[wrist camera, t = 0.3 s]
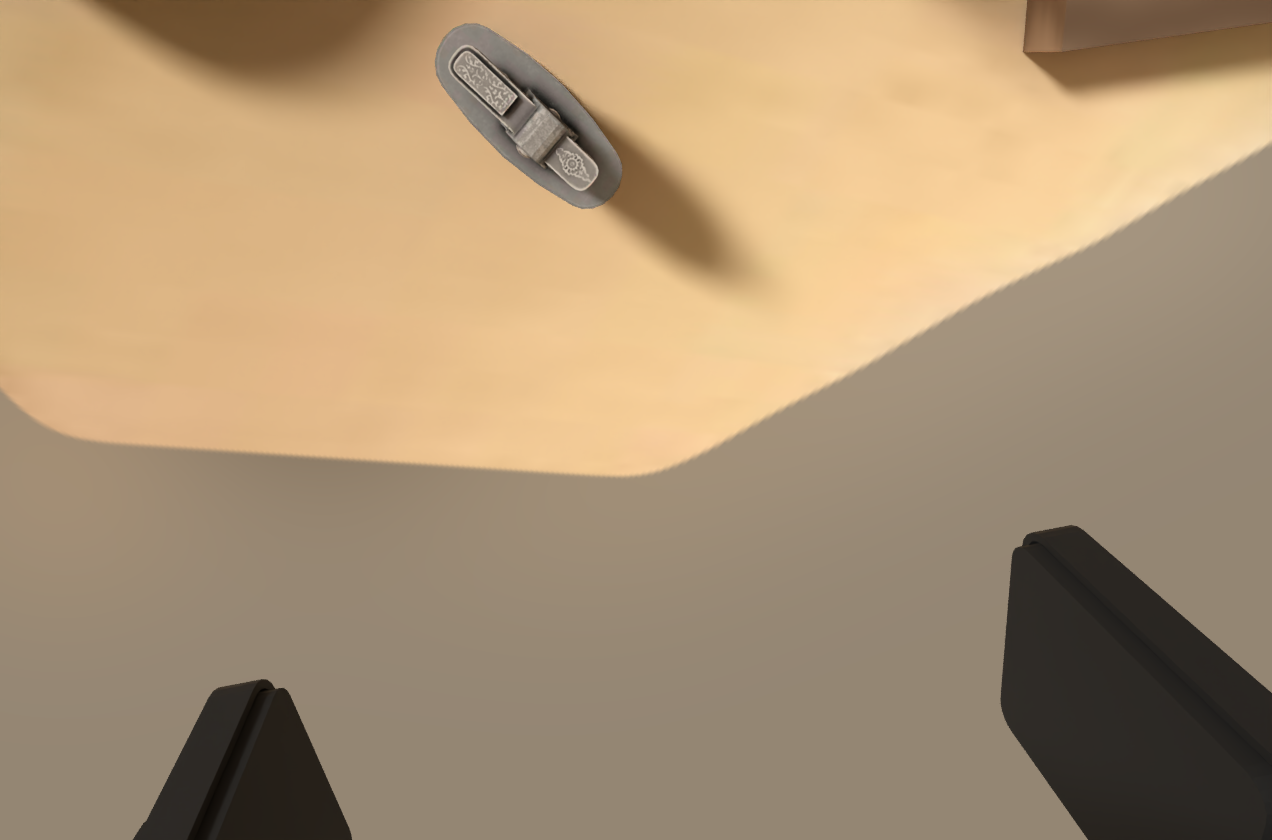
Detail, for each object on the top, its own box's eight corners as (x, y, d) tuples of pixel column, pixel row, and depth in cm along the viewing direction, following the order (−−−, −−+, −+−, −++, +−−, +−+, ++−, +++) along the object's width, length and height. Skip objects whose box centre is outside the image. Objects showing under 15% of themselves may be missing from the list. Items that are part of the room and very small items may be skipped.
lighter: (622, 143, 37) (651, 171, 28) (574, 198, 38) (586, 243, 29) (486, 9, 34) (469, -8, 25) (437, 72, 35) (403, 77, 26)
